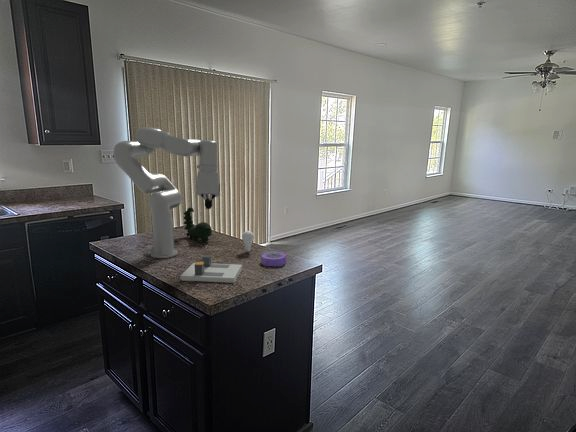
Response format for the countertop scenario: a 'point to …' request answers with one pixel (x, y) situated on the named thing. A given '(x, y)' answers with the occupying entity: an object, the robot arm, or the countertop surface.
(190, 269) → the board
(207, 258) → the on handle
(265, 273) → the countertop surface
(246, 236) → the lightbulb
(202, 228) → the toy figurine
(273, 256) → the masking tape
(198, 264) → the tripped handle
